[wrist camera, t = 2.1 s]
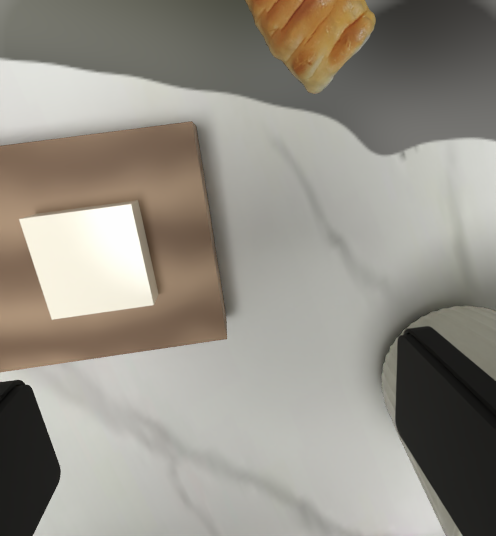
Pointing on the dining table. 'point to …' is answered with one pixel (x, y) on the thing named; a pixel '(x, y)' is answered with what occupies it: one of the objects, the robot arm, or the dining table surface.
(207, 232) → the brown wooden flat block
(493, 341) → the canister
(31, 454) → the robot arm
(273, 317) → the dining table surface
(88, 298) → the tile
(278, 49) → the pastry
